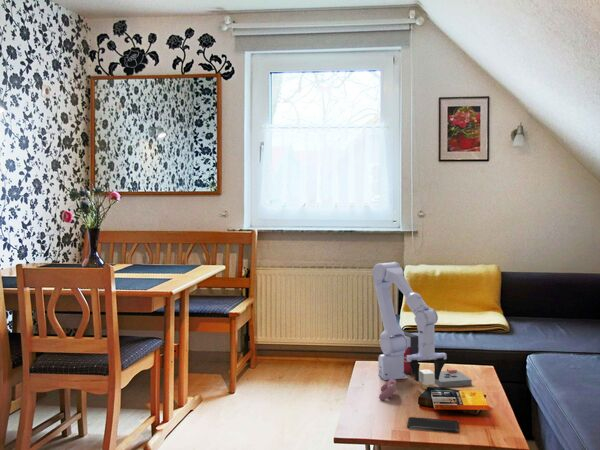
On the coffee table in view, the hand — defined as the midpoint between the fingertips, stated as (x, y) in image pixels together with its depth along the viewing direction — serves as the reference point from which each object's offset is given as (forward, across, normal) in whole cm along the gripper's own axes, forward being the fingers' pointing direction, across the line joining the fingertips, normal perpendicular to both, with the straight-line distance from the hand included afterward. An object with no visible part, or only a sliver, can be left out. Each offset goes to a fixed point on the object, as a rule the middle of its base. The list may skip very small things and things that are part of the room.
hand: (426, 379), depth 210 cm
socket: (+3, +11, +5) cm, 12 cm away
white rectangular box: (+3, 0, 0) cm, 3 cm away
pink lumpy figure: (+3, -17, -6) cm, 18 cm away
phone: (+4, -12, -34) cm, 36 cm away
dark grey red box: (+3, 0, +21) cm, 21 cm away
